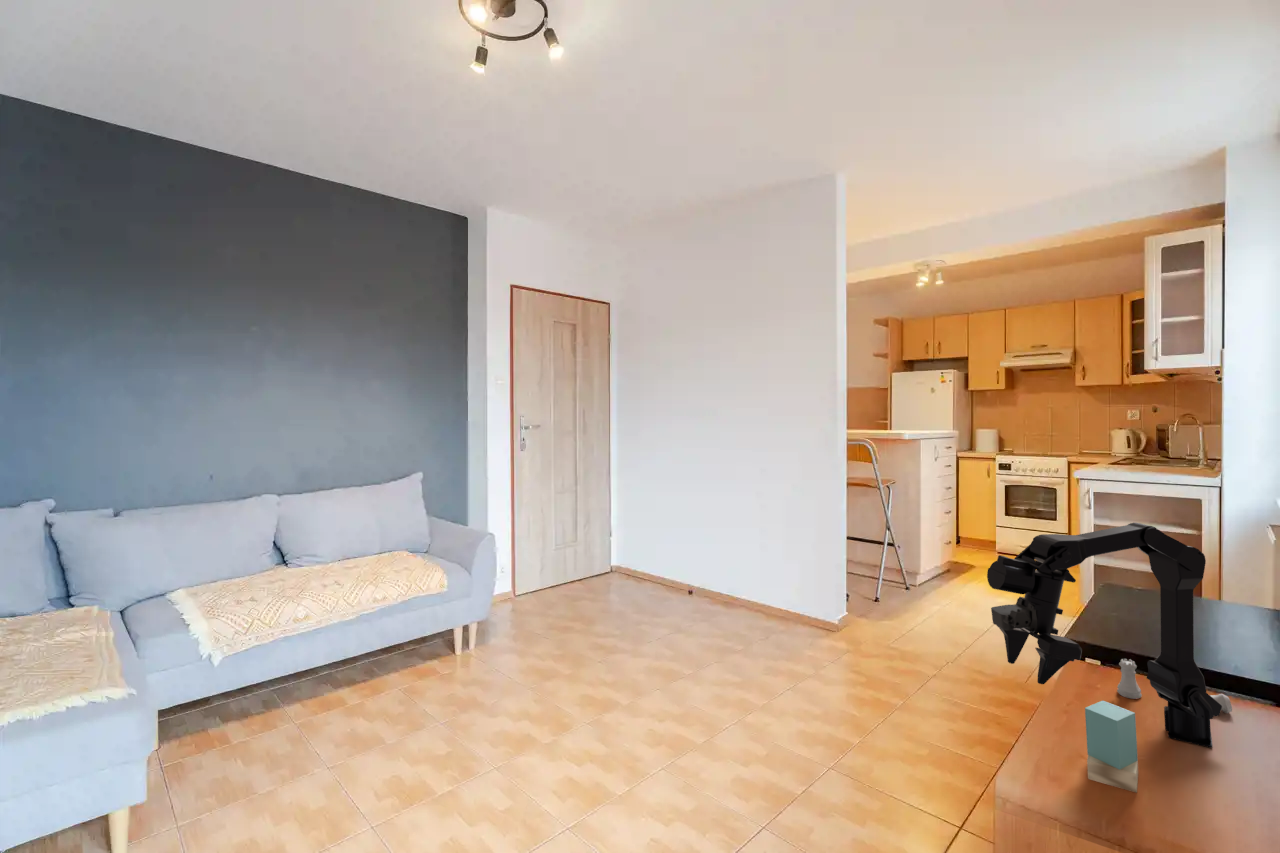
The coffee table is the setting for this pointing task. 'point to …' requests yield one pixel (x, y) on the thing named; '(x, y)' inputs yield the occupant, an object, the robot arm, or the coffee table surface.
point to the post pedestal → (1113, 774)
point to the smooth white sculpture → (1223, 702)
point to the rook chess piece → (1128, 680)
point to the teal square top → (1111, 734)
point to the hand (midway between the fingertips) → (1025, 673)
